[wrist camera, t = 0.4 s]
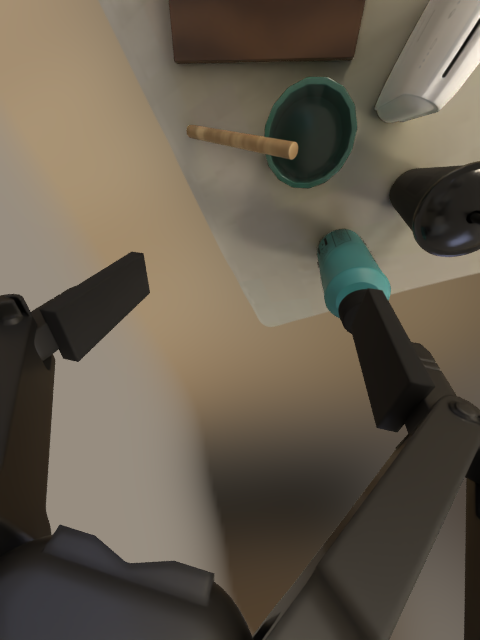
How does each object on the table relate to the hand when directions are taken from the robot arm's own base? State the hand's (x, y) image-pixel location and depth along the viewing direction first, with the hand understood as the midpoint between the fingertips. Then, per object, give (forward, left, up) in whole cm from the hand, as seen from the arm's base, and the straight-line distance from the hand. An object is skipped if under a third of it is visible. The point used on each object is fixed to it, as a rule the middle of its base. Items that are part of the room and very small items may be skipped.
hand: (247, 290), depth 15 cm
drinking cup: (-3, +16, -27) cm, 32 cm away
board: (-19, -4, -27) cm, 33 cm away
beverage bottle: (+5, +9, -27) cm, 29 cm away
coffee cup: (-8, +2, -27) cm, 28 cm away
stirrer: (-8, -6, -21) cm, 23 cm away
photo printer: (-15, +12, -27) cm, 33 cm away
